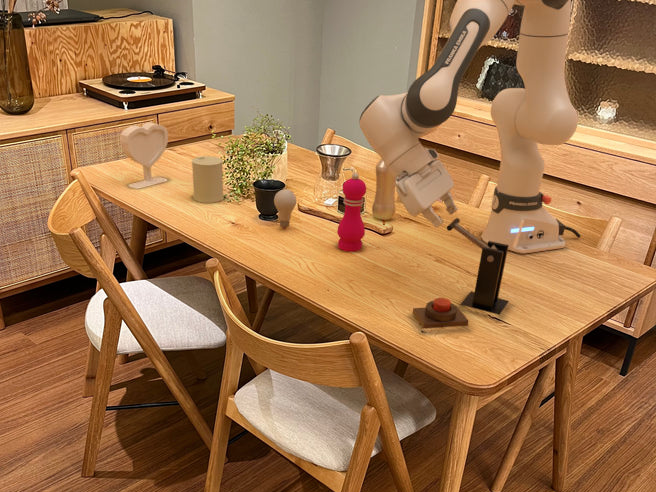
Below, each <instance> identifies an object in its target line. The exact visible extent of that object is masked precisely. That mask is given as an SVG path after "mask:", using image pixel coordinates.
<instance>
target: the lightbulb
mask: <svg viewBox="0 0 656 492" xmlns="http://www.w3.org/2000/svg"><path fill="white" fill-rule="evenodd" d="M273 204H274V206H275V208H276V210H277V213H278V219H279V226H280V228H282V229H285V230H286V229H287V228H289V227H290V221H291V216H292V212H293V211H294V209H295V207H296V205H297V196H296V194H295V193H294V192H293V191H292V190H290V189H287V188H285V189H281V190H279V191H277V192H276V194H275V195H274V198H273Z"/></svg>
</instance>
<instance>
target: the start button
mask: <svg viewBox="0 0 656 492" xmlns="http://www.w3.org/2000/svg"><path fill="white" fill-rule="evenodd" d="M433 301H434V304H433V309H434V310H436V311H439V312H448V311H450V306H451V303H452V301H451V300H450V299H448V298H446V297H437V298H434V300H433Z"/></svg>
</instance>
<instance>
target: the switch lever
mask: <svg viewBox="0 0 656 492" xmlns="http://www.w3.org/2000/svg"><path fill="white" fill-rule="evenodd" d="M460 222H461V220H460V218H459V217H456V218H455V219H454V220H452V221H451V222H450V223H449V224H447V226H446V231H448V232H451V231H452V230H455V231H456V232H458V233H459V234H460V235H462V236H463V237H464V238H466V239H467V240H469V242H471V243H472V244H474V245H475V246H477V247H478V248H479V249H481V250H482V248H483V247H487V248H490V247H489V246H488V245H487V243H486V242H484V241H483V240H481V239H479V237H476V236H475V235H474V234H472V233H471V232H470V231H469V230H467V229H466V228H464V227H463V226H462V225H460ZM491 249H496V250H500V249H499V248H497V247H496V246H494V245H493V246H492V247H491ZM500 251H501V250H500Z"/></svg>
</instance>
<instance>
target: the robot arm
mask: <svg viewBox="0 0 656 492" xmlns="http://www.w3.org/2000/svg"><path fill="white" fill-rule="evenodd" d="M514 5H517V6H523V7H524V9H523V12H522V17H521V22H520V28H519V37H518V45H517V46H518V47H517V55H516V62H515V65H516V70H517V72H518V74H519V76H520V77H521V80H522V81H523V85H524V88H523V87H522V88H521V87H510V88H509V87H508V88H504V89H502V90H501V91H499V92H498V93H497V94H496V96H495V97H494V99H493V100H492V103H491V105H490V117H491V119H492V121H493V123H494V125H495V127H496V130H497V135H498V140H499V146H500V163H499V169H498V170H499V171H498V177H497V182H496V186H495V188H494V190H493V195H492V200H491V210H490V214H489V217H488V220H487V222H486V225H485V228H484V230H483V232H482V234H481V235H480V237H481V239H482V242H484V243H485V244H488V241H492V242H497V243H501V244H506V245H509V246H508V251H511V252H514V253H517V254H522V255H523V254H530V253H538V252H544V251H545V252H546V251H551V250H559V249H564V248H566V241H565V239H564V238H563V237H562V236H564V234H565V233H564V232H565V230H566V231H568V232H570V233H573V234H574V235H575V236H576V237H577V238H578V239H580V238H581V234H580V233H579V232H578V231H577V230H576V229H575V228H572V227H569V226H566V225H565V224H564V223H562V222H561V221H560V220H559V219H557V218H555V217H554V216H553V215H552V213H550V212H549V211H548V210H547V209H546V207H544V205H543V203H544V204H545V205H549V204H551V203H552V197H551V196H549V195H548V194H543V192H541V191H540V190H541V186H542V181H543V176H544V172H545V165H546V164H545V160H544V158H543V157H542V155H541V152H540V150H539V146H538V144H539V145H546V146H561V145H564V144H565V143H567V142H568V141H569V140H571V138H572V137H573V136H574V135H575V132H576V130H577V129H578V124H579V115H578V112H577V110H576V109H575V107H574V105H573V104H572V102H571V99H570V96H569V92H568V90H567V84H566V77H565V64H566V54H567V48H568V47H567V46H568V40H569V32H570V25H571V11H572V8H571V7H572V0H457V1H456V2H455V5H454V7H453V10H452V12H451V15H450V18H449V28H450V30H451V32H450V35H449V37H448V38H447V42H446V43H445V45H444V46H443V48H442V50H441V52H440V53H439V55H438V57H437V59H436V60H435V62H434V64H433V65H432V66H431V67H430V68H429V70H427V71H426V72H424V73H422V74H421V75H420V76H418V77H417V78H416V79H415V80H414V81H413V82H412V83H411V85H410V87H409V89H408V91H405V92H403V93H398V94H392V95H384V94H380V95H377V96H376V97H375V98H373V99H372V100H371V101H370V102H369V103H368V104H367V106H366V107H365V108H364V110H362V112H361V114H360V116H359V120H358V123H359V127H360V130H361V132H362V134H363V136H364V138H365V139H366V140H367V142H368V144H369V145H370V147H371V148H372V150H373V151H374V153H376V154H377V155H378V156H379V157H380V158H381V159H383V161H384V164H385V166H386V168H387V169H388V171H389V172H390V174H391V175H392V177H393V178H394V179H395V182H396V184H395V185H396V187H395V192H396V195H397V197H399V200H400V201H401V204H402V205H403V207H404V208H405V209H406V211H407V213H408V214H409V215H410V216H412V217H413V218H416V217H418V216H419V215H422V216H423V218H425V219H426V220H427V221H429V222H431V224H432V225H433V227H434V228H436V229H437V228H439V227H440V226H442V225H443V224H444V221H445V220H444V219H443V218H442V216H441V215H438V214H437V213H436V212H435V210H434V208H433V207H432V205H434V203H436V202H438V201H437V200H438V199H439V198H440V199H441V200H442V202H443V203H444V205H445V207H446V208H445V211H446V212H447V213H448V214H449V215H454V214H455V213H456V212H457V211H458V208H459V207H457V205H456V204H455V201H454V197H453V195H452V193H451V192H450V191H451V190H452V189H453V188H455V182H454V179H453V178H452V176H451V174H450V172H449V171H448V169H447V167H446V166H445V165H444V163H443V162H442V161H441V160H440V159H439V158H440V155H439V153H438V152H437V151H436V149H435V148H427V147H425V146H423V145H422V143H421V141H420V140H419V139H421V138H423V137H425V136H428V135H430V134H432V133H433V132H435V131H436V130H437V129H438V128H439V127H440V126H441V125H442V124H443V123H445V122H447V121H448V119H450V118H451V116H452V115H453V113H454V112H455V109H456V106H457V103H458V95H459V87H460V83H461V81H462V79H463V77H464V75H465V73H466V71H467V70H468V68H469V67H470V64H471V63H472V61H473V59H474V57H475V55H476V54H477V52H478V51H479V49H480V48H482V47H483V46H485V45H487V44H488V43H489V42H491V40H492V39H493V38H494V36H495V35H496V34H497V33H498V31H499V30H500V28H501V27H502V26H503V24H504V23H505V21H506V20H507V17H508V16H509V15H510V12H511V11H512V9H513V7H514Z"/></svg>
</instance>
